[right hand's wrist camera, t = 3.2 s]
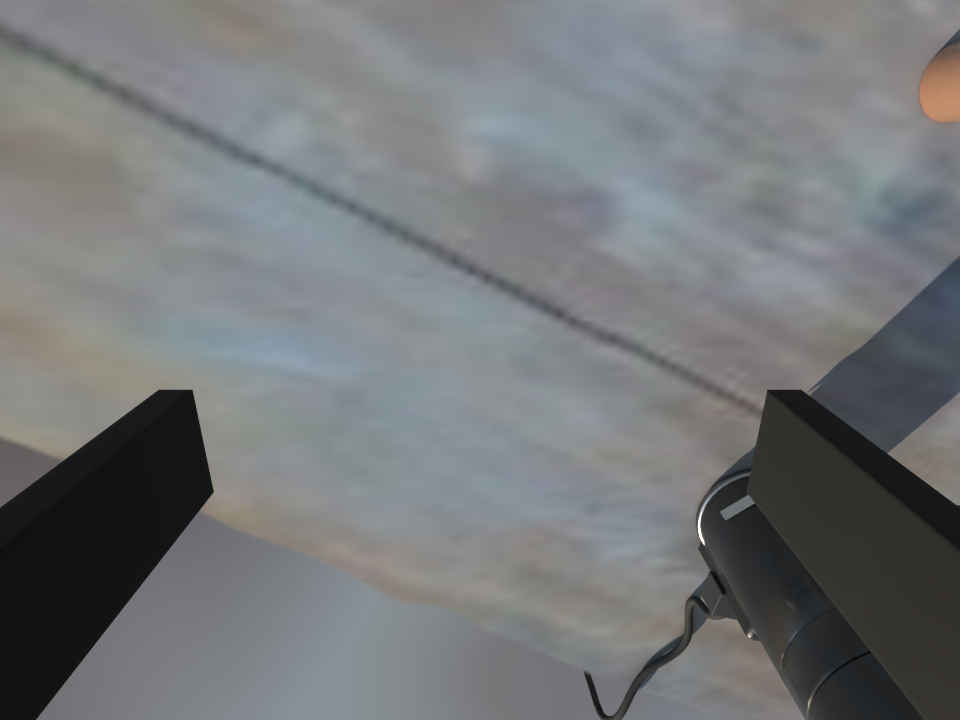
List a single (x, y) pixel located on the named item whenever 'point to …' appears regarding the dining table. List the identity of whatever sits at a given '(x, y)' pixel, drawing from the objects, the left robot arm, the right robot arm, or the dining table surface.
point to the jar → (942, 86)
